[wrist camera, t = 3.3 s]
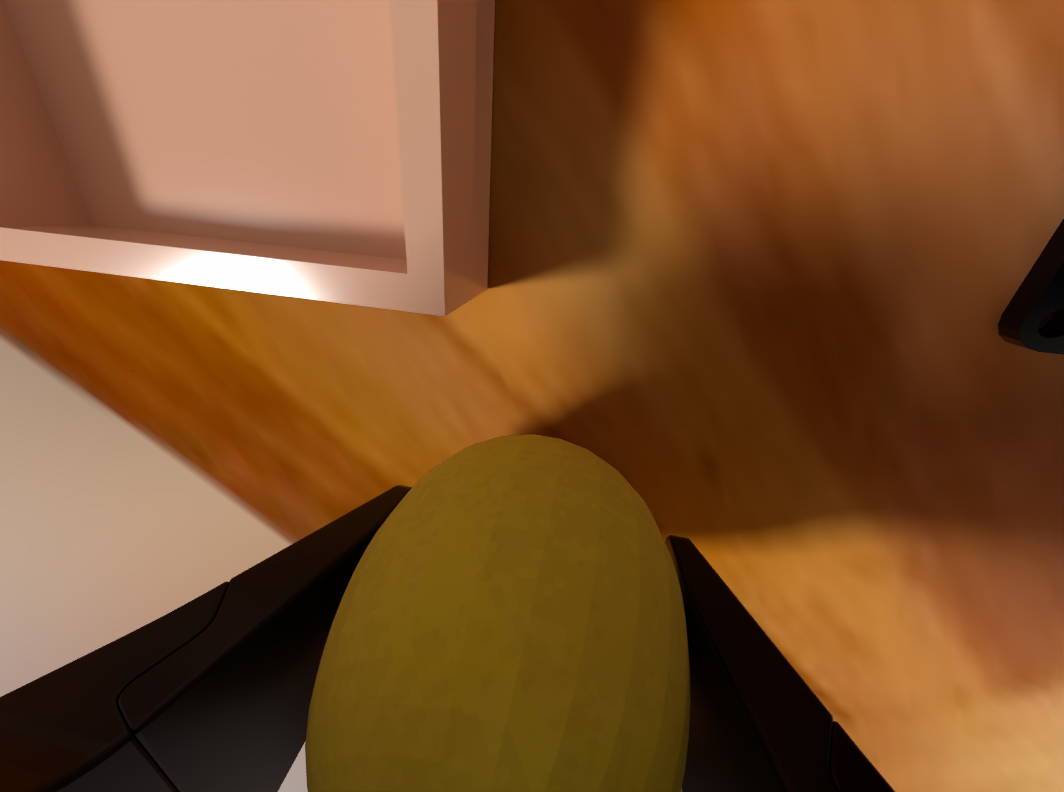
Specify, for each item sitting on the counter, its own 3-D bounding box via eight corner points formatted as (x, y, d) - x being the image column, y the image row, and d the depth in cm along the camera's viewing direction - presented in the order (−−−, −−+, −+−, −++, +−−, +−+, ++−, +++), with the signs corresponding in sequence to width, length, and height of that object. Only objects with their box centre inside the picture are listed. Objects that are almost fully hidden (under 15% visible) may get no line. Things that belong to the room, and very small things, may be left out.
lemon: (700, 485, 10) (981, 1272, 2) (545, 570, 12) (458, 1102, 5) (550, 328, 8) (270, 921, 1) (411, 456, 11) (39, 924, 4)
